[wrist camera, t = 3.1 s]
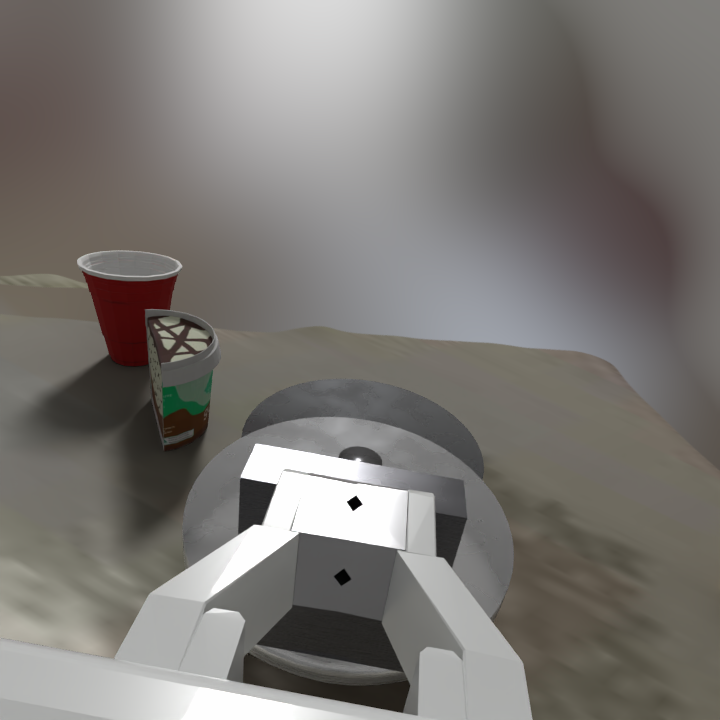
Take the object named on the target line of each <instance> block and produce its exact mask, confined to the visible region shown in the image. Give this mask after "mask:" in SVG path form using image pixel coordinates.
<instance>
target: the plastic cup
mask: <svg viewBox="0 0 720 720" xmlns="http://www.w3.org/2000/svg"><path fill="white" fill-rule="evenodd" d="M77 263H78V267H79V269H80V270H82V272H83V274H84V276H85V279H86V282H87V284H88V288H89V291H90V292H91V295H92V299H93V302H94V306H95V309H96V313H97V316H98V320H99V323H100V327H101V330H102V334H103V336H104V337H105V341H106V344H107V348H108V351H109V355H110V356H111V358H112V360H113V361H115V362H116V363H118V364H121V365H124V366H143V365H147V364H149V360H148V345H147V331H146V324H145V310H147V309H159V310H170V305H171V298H172V292H173V290H174V285H175V282H176V278H177V275H178V273H179V272H180V271H181V269H182V265H181V264H180V262H179V261H177V260H174V259H173V258H170V257H167V256H163V255H159V254H154V253H147V252H139V251H105V252H96V253H92V254H87V255H84V256H82V257H80V258H79V259H77Z"/></svg>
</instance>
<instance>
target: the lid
mask: <svg viewBox="0 0 720 720" xmlns="http://www.w3.org/2000/svg"><path fill="white" fill-rule="evenodd" d="M285 468H287V469H293V470H298V471H303V472H308V473H310V472H311V473H316V474H321V475H326V476H331V477H336V478H341V479H347V480H352V481H357V482H362V483H368V484H374V485H380V486H386V487H392V488H399V489H405V490H415V491H422V492H429V493H433V494H434V496H435V519H436V557H441V558H444V559H445V560H446V561H447V563H448V564H449V565H450V567H451V568H452V569H453V571H454V572H455V573H456V575H457V576H458V577H459V579H460V580H461V581H462V583H463V584H464V585H465V586H466V588H467V589H468V590H469V592H470V593H471V594H472V596H473V597H474V598H475V600H476V601H477V602H478V604H479V605H480V606H481V608H482V609H483V610H484V612H485V613H486V614H487V616H488V617H489V618H490V620H491V621H492V622H494V620H495V618H496V616H497V613H498V611H499V609H500V607H501V605H502V602H503V600H504V597H505V595H506V592H507V589H508V586H509V583H510V579H511V575H512V572H513V560H514V550H513V540H512V535H511V532H510V528H509V524H508V521H507V519H506V517H505V514H504V512H503V510H502V508H501V506H500V504H499V503H498V501H497V499H496V498H495V496H494V494H493V493H492V492H491V491H490V489H489V488H488V487H487V485H486V484H485V483H484V482H483V481H482V479H481V478H480V477H479V476H478V475H477V474H476V473H475V472H474V471H473V470H472V469H471V468H469V467H468V466H467V465H466V464H465V463H463V462H462V461H461V460H460V459H458V458H457V457H456V456H454V455H453V454H451V453H450V452H448V451H447V450H445V449H444V448H442V447H440V446H438V445H437V444H435V443H433V442H431V441H429V440H427V439H425V438H423V437H421V436H419V435H416V434H414V433H411V432H409V431H406V430H403V429H401V428H397V427H394V426H390V425H387V424H384V423H379V422H374V421H369V420H363V419H356V418H345V417H314V418H303V419H297V420H291V421H285V422H282V423H278V424H274V425H270V426H267V427H265V428H262V429H259V430H257V431H254V432H252V433H250V434H248V435H246V436H244V437H242V438H240V439H238V440H237V441H235V442H234V443H232V444H230V445H229V446H227V447H226V448H225V449H223V450H222V451H221V452H220V453H219V454H217V455H216V456H215V457H214V458H213V459H212V460H211V461H210V462H209V463H208V464H207V465H206V467H205V468H204V469H203V470H202V472H201V473H200V475H199V476H198V478H197V479H196V480H195V482H194V484H193V487H192V489H191V491H190V493H189V495H188V498H187V502H186V506H185V509H184V517H183V551H184V561H185V567H186V569H188V568H189V567H191V566H192V565H194V564H195V563H197V562H198V561H200V560H201V559H203V558H204V557H206V556H207V555H209V554H210V553H212V552H213V551H215V550H216V549H218V548H219V547H221V546H222V545H224V544H225V543H227V542H228V541H230V540H232V539H233V538H235V537H236V536H238V535H239V534H241V533H242V532H244V531H245V530H247V529H248V528H250V527H251V526H253V525H258V526H261V525H262V523H263V520H264V517H265V515H266V512H267V509H268V507H269V504H270V501H271V499H272V496H273V493H274V491H275V488H276V485H277V483H278V480H279V477H280V475H281V472H282V471H283V470H284V469H285ZM337 611H338V610H337ZM337 611H331V610H324V609H318V608H311V607H305V606H298V605H292V608H291V609H290V610H289V611H288V612H287V613H286V614H285V615H284V616H283V617H282V618H281V619H280V620H279V621H278V622H277V623H276V624H275V625H274V626H273V627H272V628H271V629H270V631H269V632H268V633H267V634H266V635H265V636H264V637H263V638H262V639H261V640H260V641H259V642H258V643H257V644H256V645H255V646H254V647H253V648H252V649H251V650H250V651H249V652H248V653H250V654H252V655H254V656H255V657H257V658H259V659H261V660H262V661H264V662H266V663H268V664H269V665H272V666H274V667H277V668H279V669H282V670H284V671H286V672H289V673H291V674H294V675H297V676H301V677H305V678H308V679H312V680H316V681H320V682H326V683H334V684H342V685H382V684H389V683H396V682H403V681H406V680H408V679H407V677H406V675H405V672H404V670H403V668H402V666H401V664H400V662H399V660H398V657H397V655H396V653H395V651H394V649H393V647H392V644H391V642H390V640H389V638H388V636H387V634H386V631H385V629H384V627H383V625H382V621H380V620H376V619H371V618H366V617H361V616H356V615H352V614H347V613H342V612H337Z"/></svg>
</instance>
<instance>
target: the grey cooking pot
mask: <svg viewBox="0 0 720 720" xmlns="http://www.w3.org/2000/svg"><path fill="white" fill-rule="evenodd" d="M314 417H345V418H356V419H363V420H369V421H374V422H379V423H384V424H387V425H390V426H394V427H397V428H401V429H403V430H406V431H409V432H411V433H414V434H416V435H419V436H421V437H423V438H425V439H427V440H429V441H431V442H433V443H435V444H437V445H438V446H440V447H442V448H444V449H445V450H447V451H448V452H450V453H451V454H453V455H454V456H456V457H457V458H458V459H460V460H461V461H462V462H463V463H465V464H466V465H467V466H468V467H469V468H471V469H472V470H473V471H474V472H475V473H476V474H477V475H478V476H479V477H480V478H481V479H483V473H484V465H483V458H482V454H481V451H480V449H479V446H478V444H477V442H476V441H475V439H474V437H473V436H472V434H471V433H470V432H469V431H468V429H467V428H466V427H465V426H464V425H463V424H462V423H461V422H460V421H459V420H458V419H457V418H456V417H455V416H453V415H452V414H451V413H449V412H448V411H447V410H445V409H444V408H442V407H441V406H439V405H438V404H436V403H434V402H432V401H430V400H428V399H427V398H425V397H422V396H420V395H418V394H415V393H413V392H410V391H408V390H405V389H402V388H399V387H395V386H392V385H388V384H383V383H378V382H373V381H366V380H356V379H327V380H318V381H311V382H306V383H302V384H298V385H295V386H292V387H288V388H286V389H284V390H281V391H279V392H277V393H275V394H273V395H272V396H270V397H268V398H267V399H265V400H264V401H263V402H262V403H260V404H259V405H258V406H257V407H256V408H255V409H254V410H253V411H252V413H251V414H250V416H249V417H248V419H247V420H246V423H245V425H244V428H243V432H242V437H244V436H246V435H248V434H250V433H252V432H254V431H257V430H259V429H262V428H265V427H267V426H270V425H274V424H278V423H282V422H285V421H291V420H297V419H303V418H314ZM242 437H241V438H242Z"/></svg>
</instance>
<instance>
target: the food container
mask: <svg viewBox="0 0 720 720" xmlns="http://www.w3.org/2000/svg"><path fill="white" fill-rule="evenodd" d="M145 324H146V331H147V345H148V360H149V374H150V389H151V400H152V404H153V408H154V412H155V416H156V421H157V425H158V429H159V433H160V437H161V441H162V445H163V449H164V451H169V450H173V449H177V448H180V447H182V446H185V445H187V444H190V443H192V442H193V441H194V440H196V439H197V438H199V437H200V436H201V435H202V434H203V433H204V431H205V430H206V428H207V426H208V418H209V407H210V396H211V385H212V374H213V369H214V368H215V367H216V366H217V364H218V363H219V361H220V359H221V350H220V346H219V342H218V338H217V335H216V334H215V332H214V329H213V328H212V327H211V325H209V324H208V323H207V322H206V321H204V320H203V319H200V318H198V317H196V316H193V315H190V314H187V313H183V312H178V311H172V310H159V309H147V310H145Z"/></svg>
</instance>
